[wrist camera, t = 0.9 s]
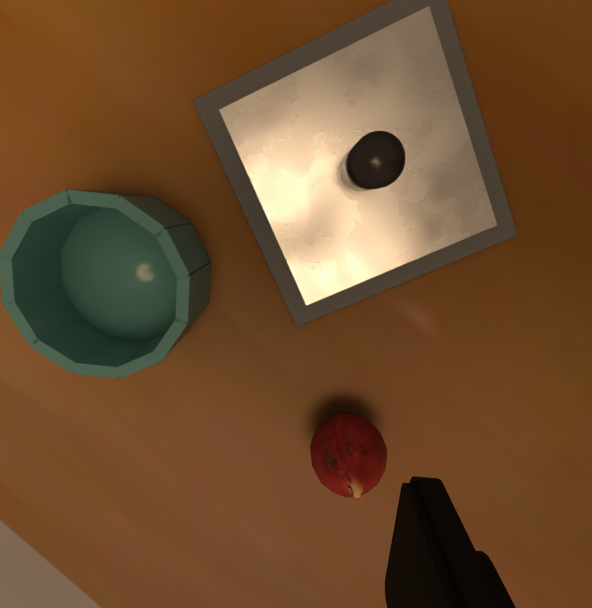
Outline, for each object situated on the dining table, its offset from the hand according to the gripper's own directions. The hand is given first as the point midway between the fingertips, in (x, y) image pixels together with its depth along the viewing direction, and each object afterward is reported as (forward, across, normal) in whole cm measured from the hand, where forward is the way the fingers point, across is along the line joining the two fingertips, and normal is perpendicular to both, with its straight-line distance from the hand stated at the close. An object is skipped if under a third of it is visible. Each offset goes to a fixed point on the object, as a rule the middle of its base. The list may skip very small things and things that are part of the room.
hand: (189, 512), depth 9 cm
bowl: (+23, +11, 0) cm, 25 cm away
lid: (+23, -6, -9) cm, 25 cm away
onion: (+23, -7, +12) cm, 27 cm away
